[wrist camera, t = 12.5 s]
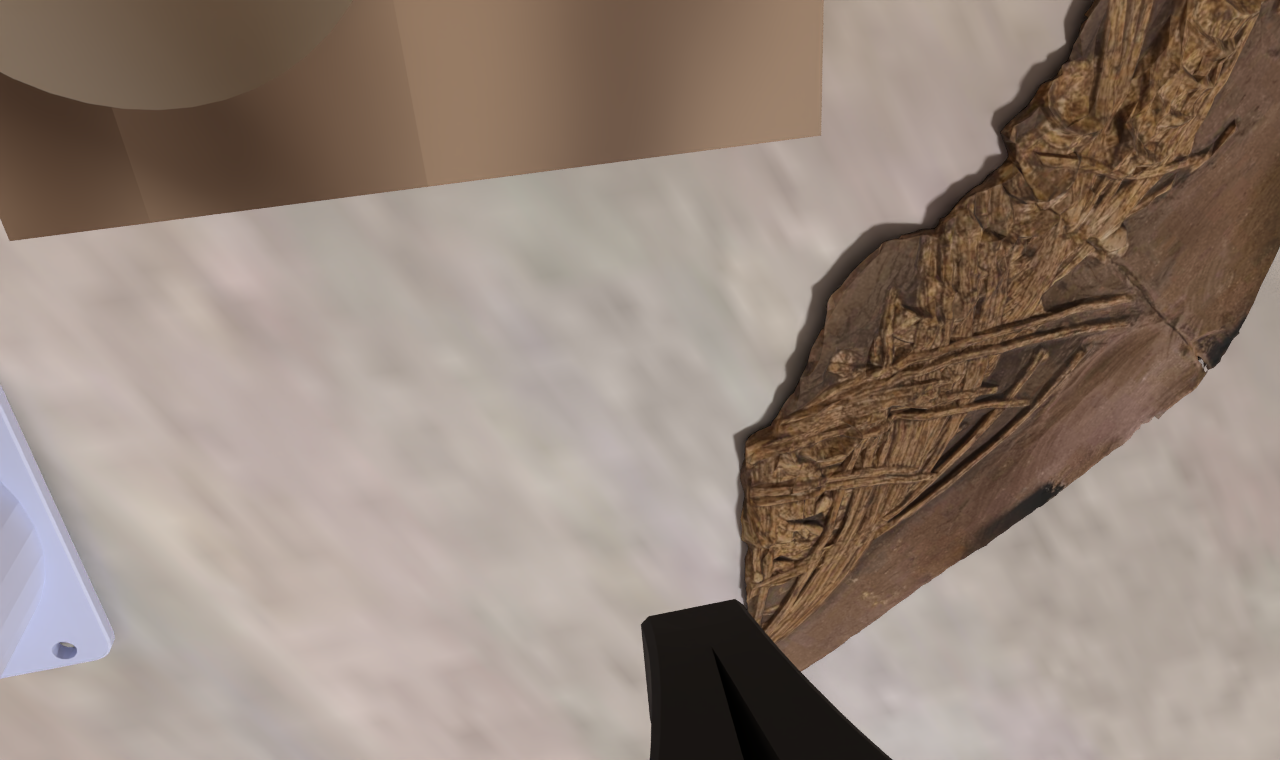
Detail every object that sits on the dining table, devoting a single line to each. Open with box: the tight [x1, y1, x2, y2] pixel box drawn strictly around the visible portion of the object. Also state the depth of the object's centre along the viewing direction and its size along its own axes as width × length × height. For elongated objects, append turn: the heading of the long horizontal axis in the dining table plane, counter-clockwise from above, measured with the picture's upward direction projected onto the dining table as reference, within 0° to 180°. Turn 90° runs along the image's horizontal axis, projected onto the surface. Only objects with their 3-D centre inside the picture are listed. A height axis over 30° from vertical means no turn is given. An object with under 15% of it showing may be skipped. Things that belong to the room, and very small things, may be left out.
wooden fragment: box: [740, 0, 1280, 672], centre depth 24 cm, size 26×11×1 cm, turn 144°
